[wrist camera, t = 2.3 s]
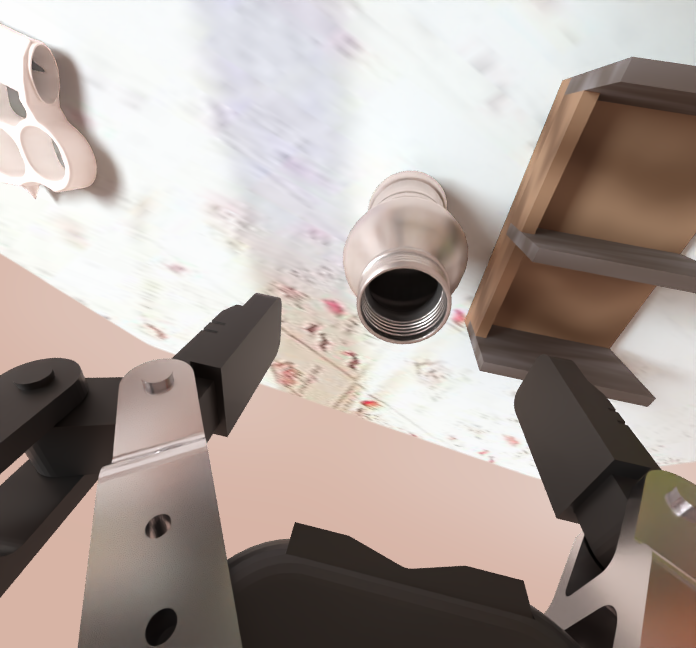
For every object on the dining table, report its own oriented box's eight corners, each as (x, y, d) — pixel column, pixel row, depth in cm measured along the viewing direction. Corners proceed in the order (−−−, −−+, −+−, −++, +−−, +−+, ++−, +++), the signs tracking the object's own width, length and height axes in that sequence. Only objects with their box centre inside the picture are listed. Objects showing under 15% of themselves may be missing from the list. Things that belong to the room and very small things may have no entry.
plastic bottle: (448, 231, 30) (501, 361, 13) (378, 247, 32) (344, 379, 15) (439, 157, 27) (490, 199, 10) (362, 180, 29) (297, 248, 12)
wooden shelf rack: (562, 80, 23) (632, 56, 16) (765, 111, 22) (937, 101, 15) (464, 320, 34) (479, 370, 27) (596, 347, 33) (647, 406, 26)
